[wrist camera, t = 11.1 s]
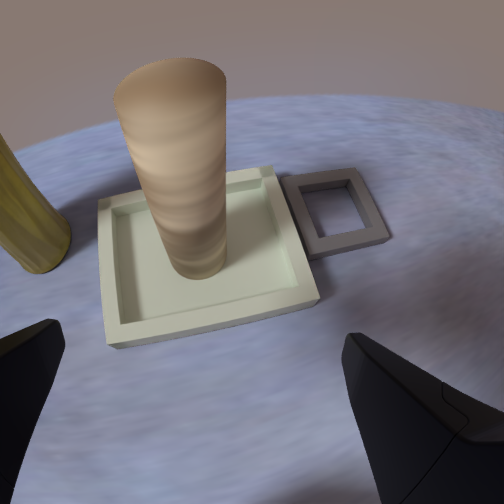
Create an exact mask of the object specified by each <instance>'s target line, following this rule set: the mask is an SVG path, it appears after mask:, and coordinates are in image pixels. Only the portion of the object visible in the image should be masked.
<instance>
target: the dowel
mask: <svg viewBox="0 0 504 504" xmlns="http://www.w3.org/2000/svg"><path fill="white" fill-rule="evenodd" d="M113 100H114V105H115V108H116V112H117V115H118V118H119V121H120V125H121V128H122V131H123V134H124V137H125V140H126V143H127V146H128V149H129V152H130V155H131V158H132V161H133V164H134V167H135V170H136V173H137V176H138V179H139V181H140V184H141V187H142V190H143V192H144V195H145V198H146V201H147V203H148V206H149V209H150V211H151V214H152V217H153V219H154V222H155V224H156V227H157V230H158V232H159V235H160V237H161V240H162V242H163V245H164V247H165V250H166V252H167V255H168V257H169V260H170V262H171V264H172V266H173V268H174V269H175V271H176V272H177V273H178V274H180V275H181V276H183V277H185V278H187V279H191V280H203V279H207V278H210V277H212V276H213V275H215V274H216V273H217V272H219V271H220V269H221V268H222V267H223V265H224V263H225V261H226V256H227V235H226V77H225V75H224V73H223V72H222V71H221V70H220V69H219V68H218V67H217V66H215V65H214V64H212V63H209V62H207V61H204V60H200V59H194V58H171V59H165V60H160V61H156V62H153V63H150V64H147V65H145V66H143V67H141V68H139V69H137V70H135V71H134V72H132V73H131V74H129V75H128V76H127V77H125V78H124V79H123V80H122V81H121V82H120V84H119V85H118V86H117V88H116V90H115V93H114V98H113Z"/></svg>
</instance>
